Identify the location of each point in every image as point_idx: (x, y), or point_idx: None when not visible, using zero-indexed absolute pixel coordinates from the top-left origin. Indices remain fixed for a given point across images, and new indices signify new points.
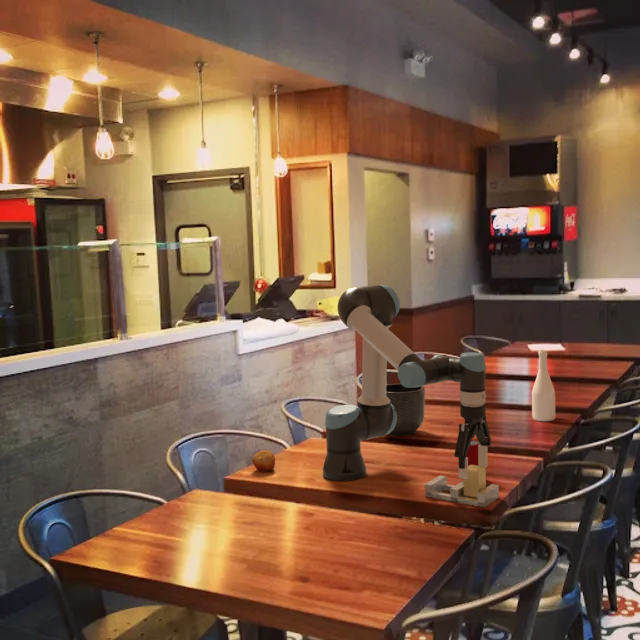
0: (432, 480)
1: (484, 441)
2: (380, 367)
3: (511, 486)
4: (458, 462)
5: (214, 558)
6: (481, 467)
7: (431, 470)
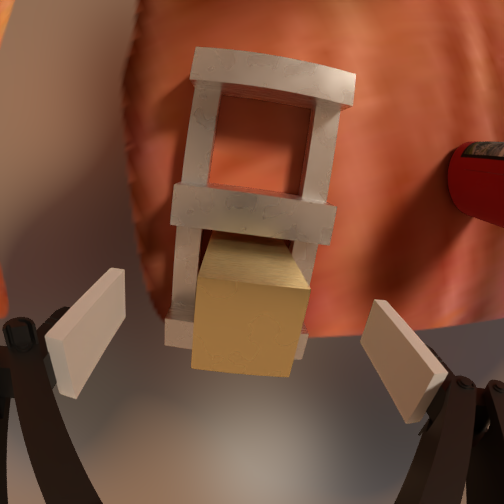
0: (265, 58)
1: (420, 447)
2: None
3: (412, 328)
4: (67, 311)
5: None
6: (274, 362)
7: (476, 38)
